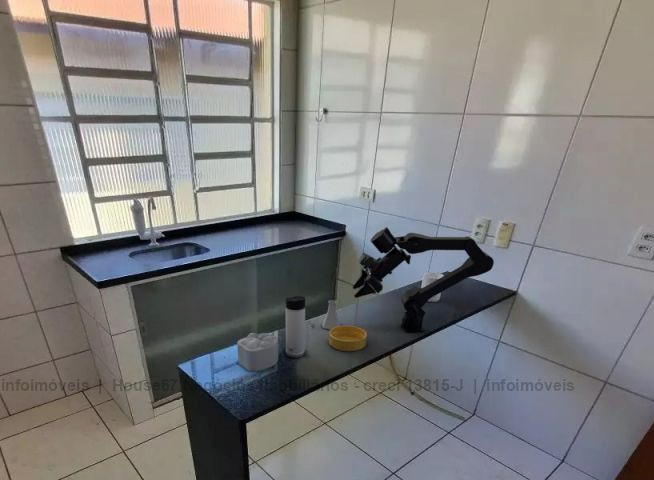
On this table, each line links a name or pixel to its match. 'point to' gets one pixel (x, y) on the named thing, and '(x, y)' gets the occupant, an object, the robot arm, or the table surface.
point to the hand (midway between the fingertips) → (353, 292)
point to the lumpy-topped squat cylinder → (258, 351)
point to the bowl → (347, 338)
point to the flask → (331, 316)
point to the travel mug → (295, 326)
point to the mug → (430, 278)
